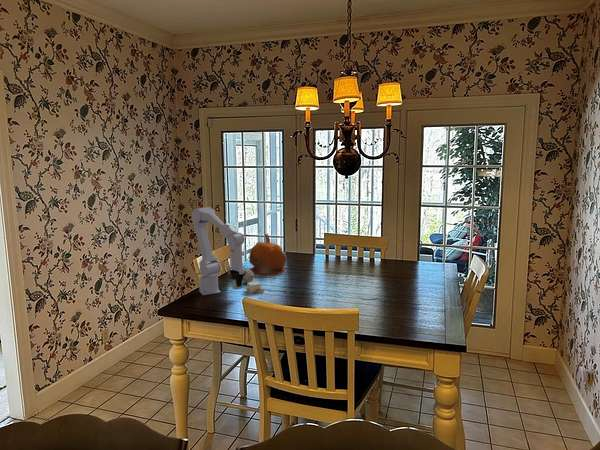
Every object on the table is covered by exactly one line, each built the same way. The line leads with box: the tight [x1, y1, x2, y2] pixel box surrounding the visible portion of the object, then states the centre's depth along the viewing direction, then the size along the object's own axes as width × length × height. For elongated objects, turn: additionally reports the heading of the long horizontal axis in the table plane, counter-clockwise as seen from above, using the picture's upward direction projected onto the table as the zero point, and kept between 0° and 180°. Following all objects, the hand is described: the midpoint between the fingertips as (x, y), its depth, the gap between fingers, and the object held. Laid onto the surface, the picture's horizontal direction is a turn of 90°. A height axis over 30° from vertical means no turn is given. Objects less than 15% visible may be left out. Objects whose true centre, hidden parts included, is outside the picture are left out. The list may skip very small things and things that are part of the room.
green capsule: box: [232, 279, 243, 290], centre depth 218 cm, size 4×4×4 cm
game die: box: [242, 268, 256, 285], centre depth 245 cm, size 9×8×10 cm
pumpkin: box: [248, 233, 287, 276], centre depth 270 cm, size 22×25×22 cm
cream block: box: [246, 280, 262, 290], centre depth 230 cm, size 6×6×2 cm
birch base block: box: [245, 286, 265, 295], centre depth 230 cm, size 7×7×2 cm
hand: (237, 285), depth 219 cm, fingers closed on green capsule, 4 cm apart
